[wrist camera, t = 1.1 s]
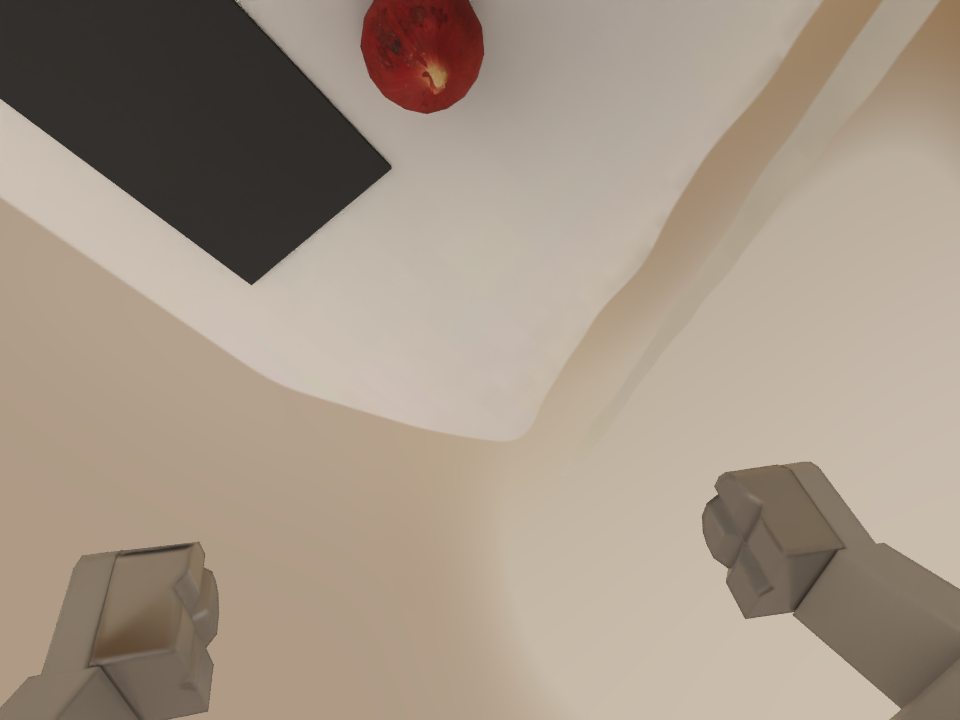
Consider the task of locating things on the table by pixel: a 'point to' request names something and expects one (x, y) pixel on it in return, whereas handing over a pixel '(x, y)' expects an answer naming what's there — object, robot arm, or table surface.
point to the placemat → (188, 118)
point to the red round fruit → (422, 51)
